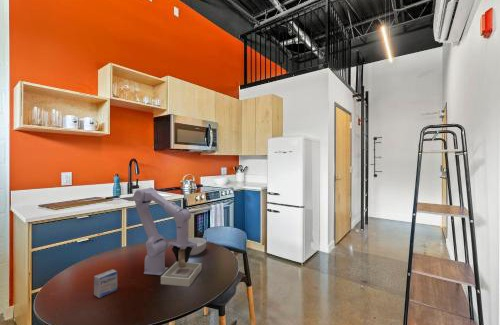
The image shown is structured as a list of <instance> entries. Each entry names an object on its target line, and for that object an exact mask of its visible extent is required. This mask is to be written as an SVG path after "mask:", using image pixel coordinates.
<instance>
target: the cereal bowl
mask: <svg viewBox="0 0 500 325" xmlns="http://www.w3.org/2000/svg"><path fill="white" fill-rule="evenodd" d="M188 242H192V243H197V248H192V250H191V252H190V255H189V257H190V256H193V257H194V256H197V255H199V254H200V253H203V252H204V251H205V249H206V248H207V240H206V239H205V238H202V237H188ZM180 249H186V247H180Z"/></svg>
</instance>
